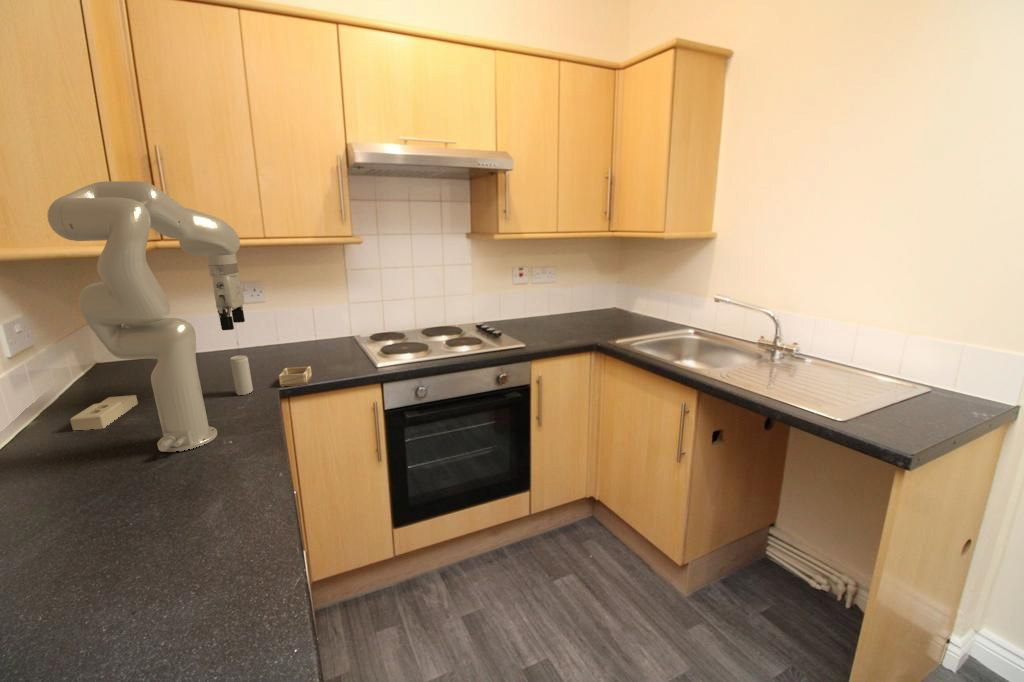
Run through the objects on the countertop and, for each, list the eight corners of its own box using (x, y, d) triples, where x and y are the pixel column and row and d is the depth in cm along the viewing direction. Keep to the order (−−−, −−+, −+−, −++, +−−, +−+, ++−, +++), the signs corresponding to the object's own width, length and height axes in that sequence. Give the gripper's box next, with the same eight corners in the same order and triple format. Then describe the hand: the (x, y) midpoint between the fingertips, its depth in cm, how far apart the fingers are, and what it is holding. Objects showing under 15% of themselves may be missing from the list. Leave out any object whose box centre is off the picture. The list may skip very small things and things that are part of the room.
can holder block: (307, 385, 159) (305, 373, 158) (280, 387, 158) (278, 375, 157) (312, 377, 167) (310, 366, 166) (286, 379, 166) (285, 368, 165)
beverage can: (232, 395, 152) (226, 358, 149) (246, 389, 156) (239, 354, 153) (243, 396, 150) (237, 360, 147) (256, 391, 155) (251, 355, 151)
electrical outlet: (135, 392, 146) (100, 415, 129) (138, 404, 147) (104, 429, 130) (108, 394, 144) (69, 418, 127) (111, 406, 145) (73, 432, 128)
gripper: (226, 273, 136) (237, 332, 140) (246, 266, 152) (255, 318, 157) (197, 274, 134) (209, 333, 139) (221, 267, 151) (230, 320, 155)
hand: (233, 325), depth 148 cm, fingers open, 9 cm apart
